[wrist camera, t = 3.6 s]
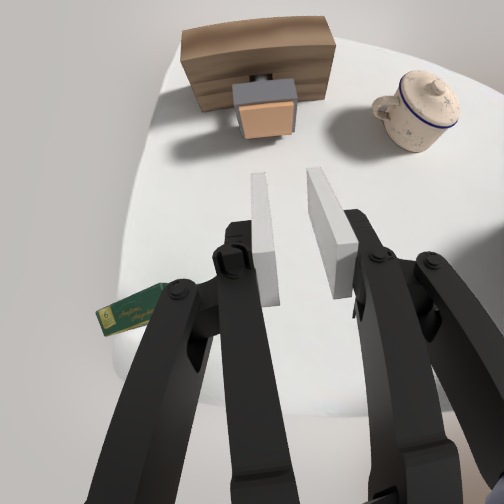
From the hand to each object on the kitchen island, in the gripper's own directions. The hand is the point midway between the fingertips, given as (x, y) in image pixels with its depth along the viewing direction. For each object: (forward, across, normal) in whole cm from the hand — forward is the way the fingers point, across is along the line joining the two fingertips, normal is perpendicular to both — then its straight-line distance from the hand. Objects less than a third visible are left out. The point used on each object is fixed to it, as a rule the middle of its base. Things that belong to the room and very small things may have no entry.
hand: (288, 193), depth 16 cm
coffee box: (+12, -14, -20) cm, 27 cm away
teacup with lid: (+27, +20, -4) cm, 34 cm away
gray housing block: (+28, 0, -1) cm, 28 cm away
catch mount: (+33, 0, +1) cm, 33 cm away
